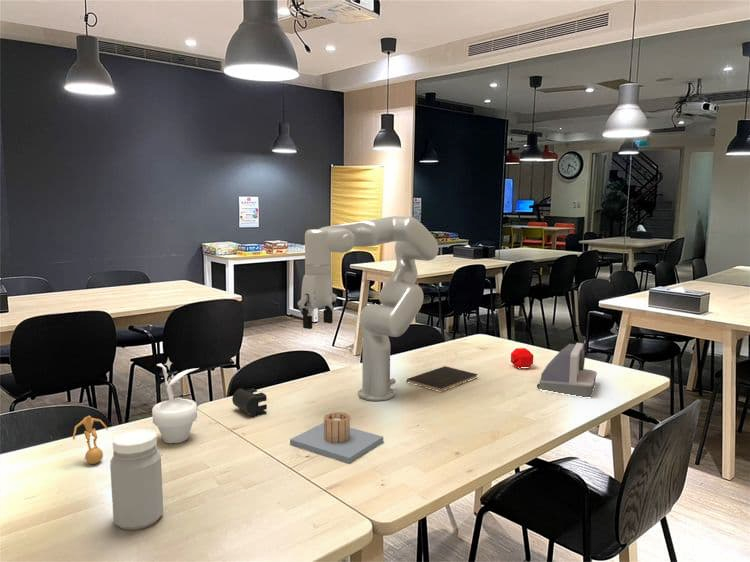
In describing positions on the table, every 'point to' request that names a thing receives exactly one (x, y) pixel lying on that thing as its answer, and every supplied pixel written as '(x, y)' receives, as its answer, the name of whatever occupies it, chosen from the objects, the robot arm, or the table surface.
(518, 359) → the ball
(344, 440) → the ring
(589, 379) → the grey angular piece
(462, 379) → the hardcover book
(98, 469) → the table surface
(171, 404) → the potted plant
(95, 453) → the figurine
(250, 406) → the end cap
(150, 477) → the jar
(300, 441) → the post stand
